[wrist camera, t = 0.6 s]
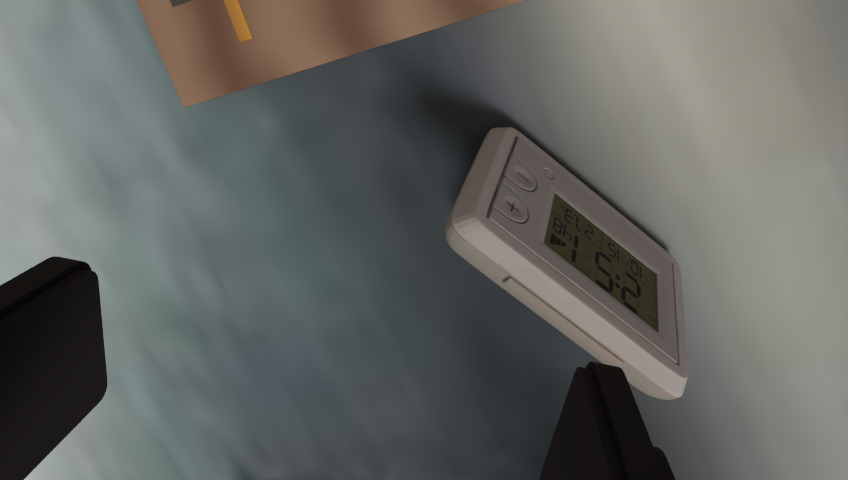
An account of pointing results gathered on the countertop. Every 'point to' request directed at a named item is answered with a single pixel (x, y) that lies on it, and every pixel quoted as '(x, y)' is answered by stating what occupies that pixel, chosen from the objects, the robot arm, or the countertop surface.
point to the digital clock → (573, 261)
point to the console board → (282, 35)
